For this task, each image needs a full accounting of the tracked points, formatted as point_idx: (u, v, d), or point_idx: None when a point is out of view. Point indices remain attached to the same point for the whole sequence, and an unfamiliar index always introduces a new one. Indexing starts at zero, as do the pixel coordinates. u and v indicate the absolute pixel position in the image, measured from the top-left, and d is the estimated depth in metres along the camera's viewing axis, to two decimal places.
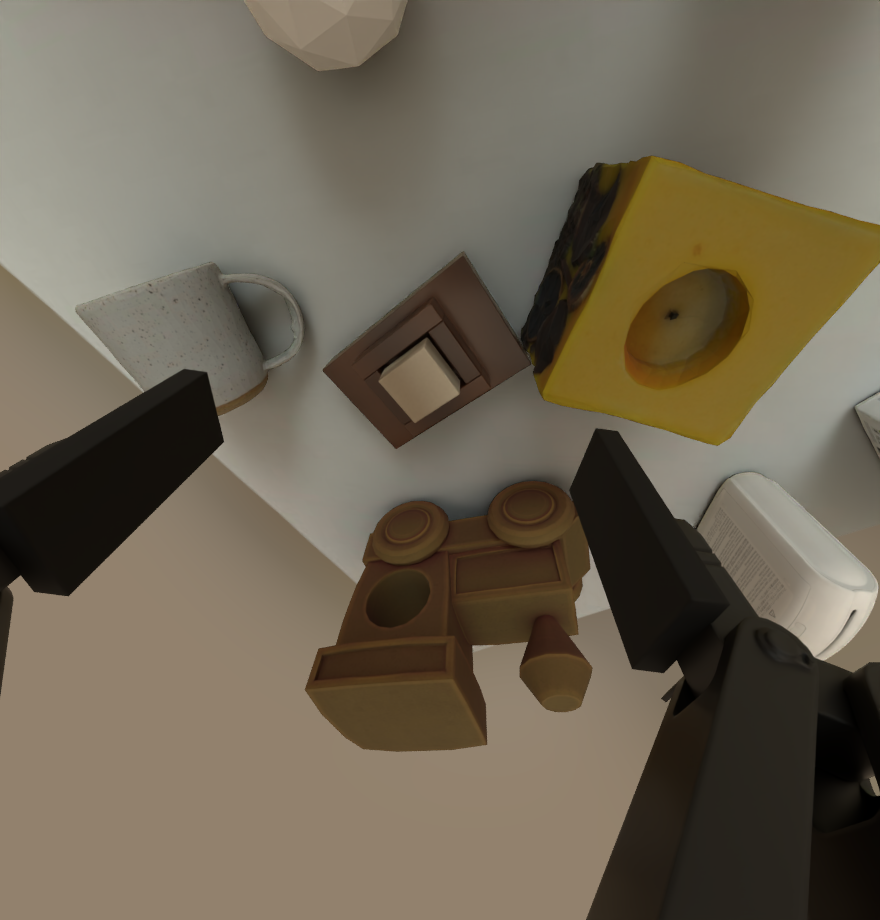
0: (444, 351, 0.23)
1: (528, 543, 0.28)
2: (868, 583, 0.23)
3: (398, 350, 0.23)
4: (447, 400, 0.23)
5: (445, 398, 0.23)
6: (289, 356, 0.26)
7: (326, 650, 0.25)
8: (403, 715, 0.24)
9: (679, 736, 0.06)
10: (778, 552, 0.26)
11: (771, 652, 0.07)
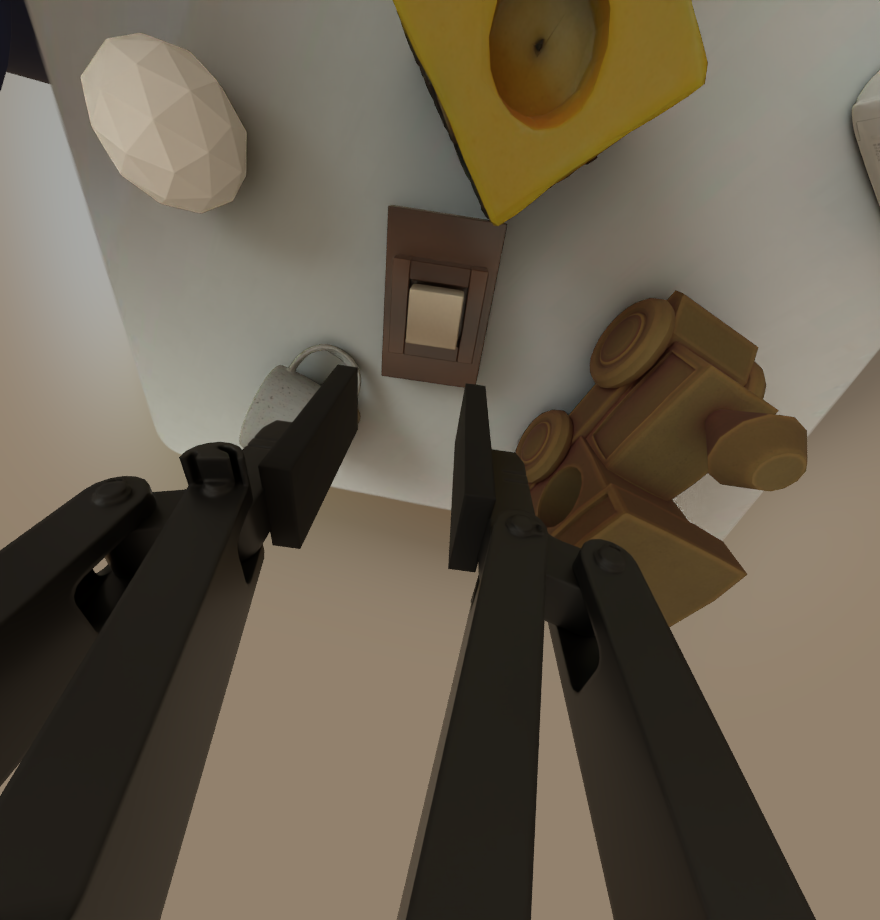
0: (431, 280, 0.26)
1: (639, 366, 0.25)
2: None
3: (404, 311, 0.27)
4: (460, 310, 0.25)
5: (457, 310, 0.25)
6: None
7: None
8: None
9: (467, 628, 0.07)
10: None
11: (516, 533, 0.08)
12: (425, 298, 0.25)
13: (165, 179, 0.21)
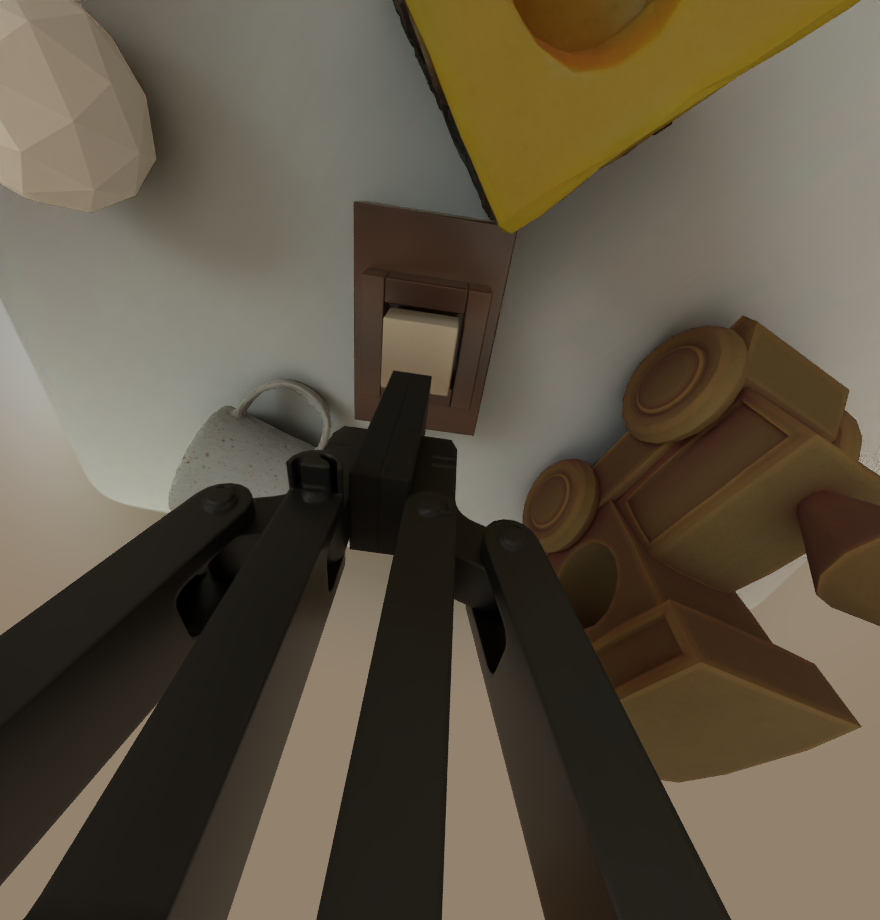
0: (414, 304, 0.19)
1: (699, 422, 0.18)
2: None
3: (378, 344, 0.20)
4: (453, 346, 0.18)
5: (449, 346, 0.18)
6: (325, 429, 0.26)
7: None
8: (680, 731, 0.16)
9: None
10: None
11: (425, 514, 0.08)
12: (405, 330, 0.18)
13: (11, 162, 0.14)
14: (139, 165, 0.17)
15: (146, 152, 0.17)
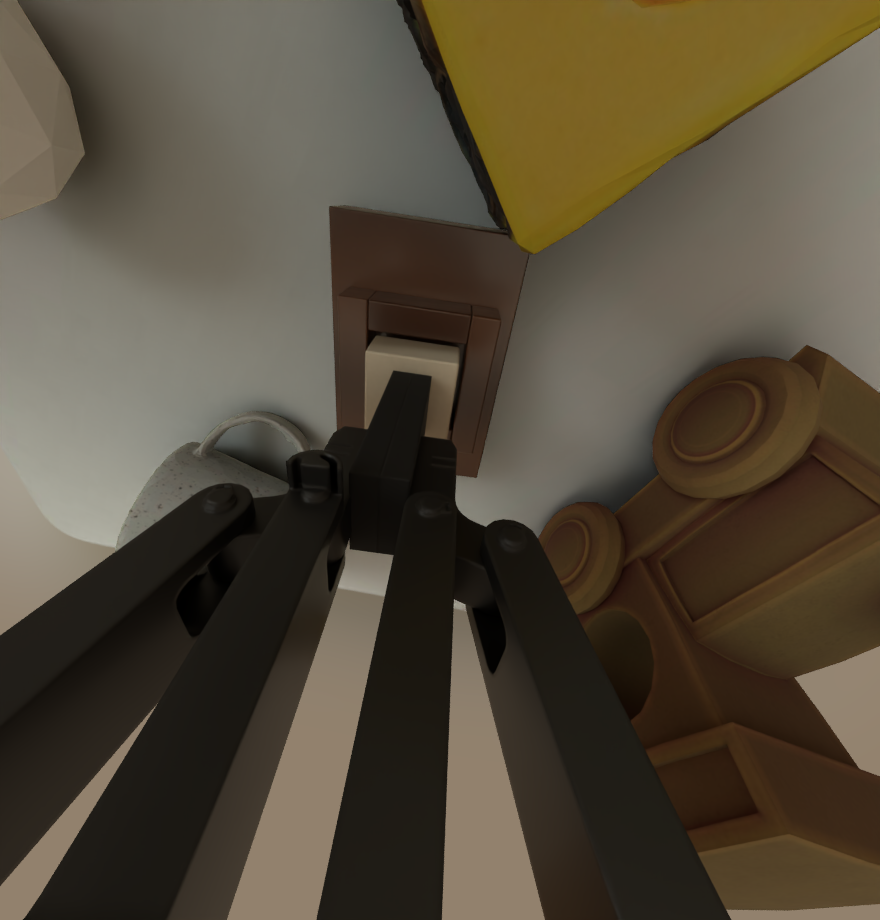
0: (405, 332, 0.15)
1: (758, 479, 0.15)
2: None
3: (362, 378, 0.16)
4: (452, 385, 0.15)
5: (448, 384, 0.15)
6: None
7: None
8: (743, 888, 0.13)
9: None
10: None
11: (425, 514, 0.08)
12: (393, 366, 0.14)
13: None
14: (55, 160, 0.13)
15: (65, 144, 0.13)
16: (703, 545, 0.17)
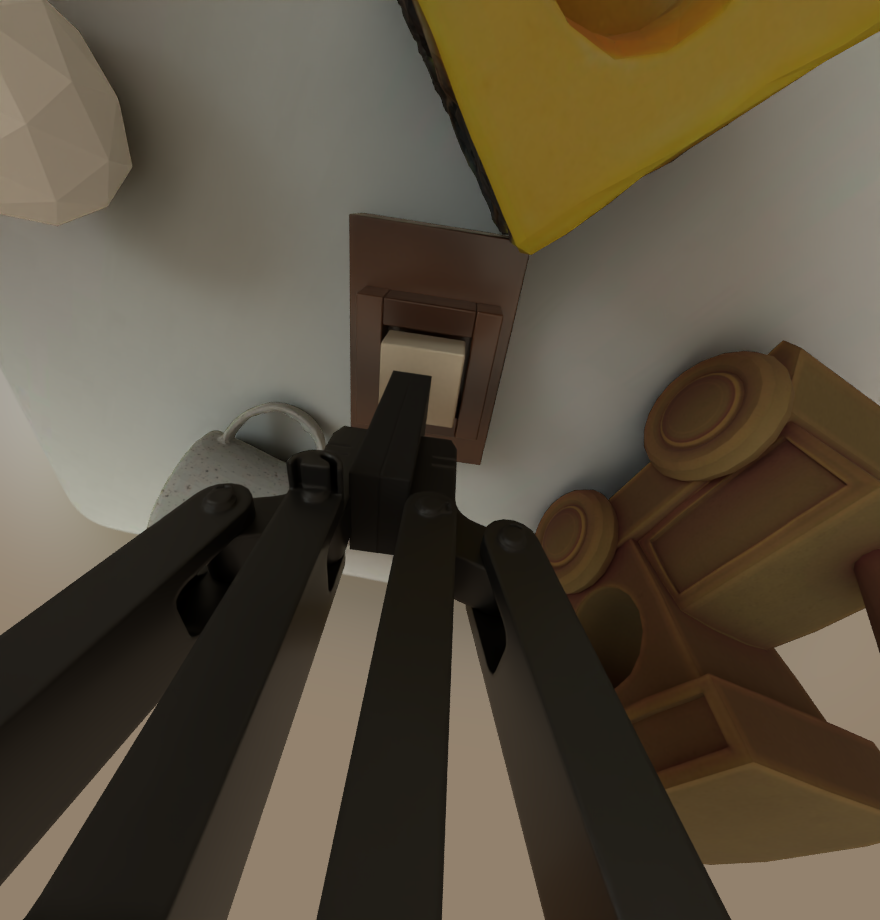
0: (416, 326, 0.17)
1: (736, 461, 0.16)
2: None
3: (376, 369, 0.18)
4: (459, 374, 0.16)
5: (454, 374, 0.16)
6: None
7: None
8: (720, 826, 0.14)
9: None
10: None
11: (425, 514, 0.08)
12: (405, 357, 0.16)
13: None
14: (110, 174, 0.15)
15: (118, 159, 0.15)
16: (689, 524, 0.19)
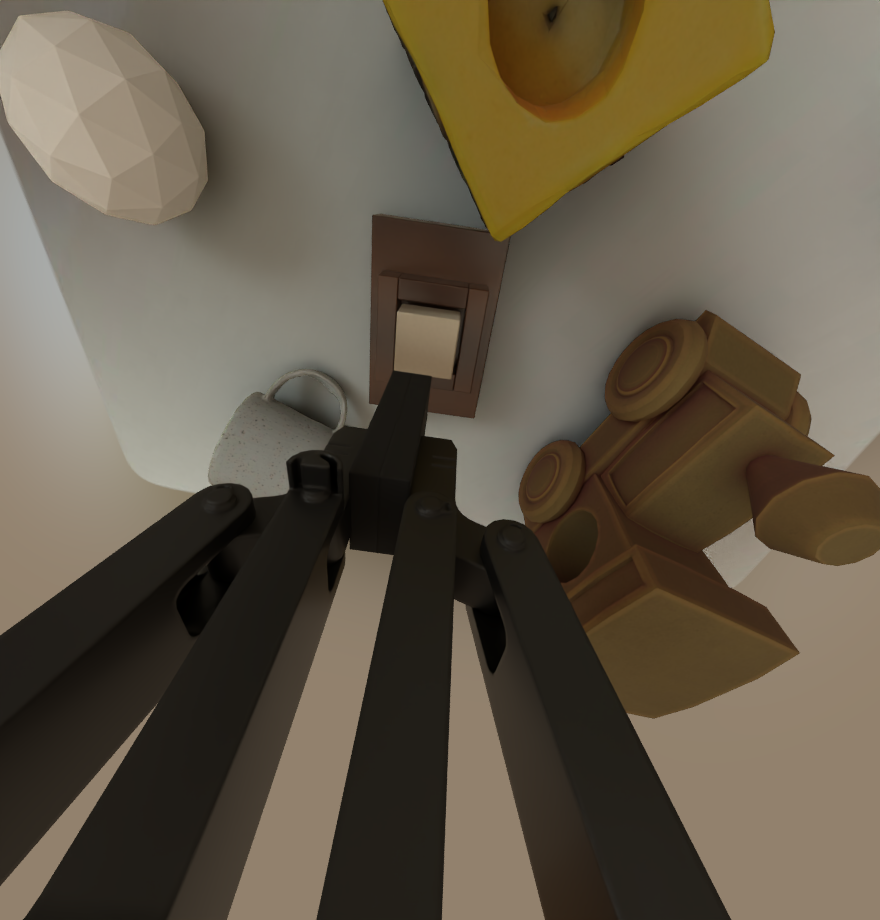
0: (423, 300, 0.22)
1: (666, 400, 0.21)
2: None
3: (392, 335, 0.23)
4: (456, 335, 0.21)
5: (452, 335, 0.21)
6: (343, 413, 0.29)
7: None
8: (647, 658, 0.19)
9: None
10: None
11: (425, 514, 0.08)
12: (415, 322, 0.21)
13: (102, 186, 0.18)
14: (197, 186, 0.20)
15: (202, 175, 0.20)
16: (636, 455, 0.24)
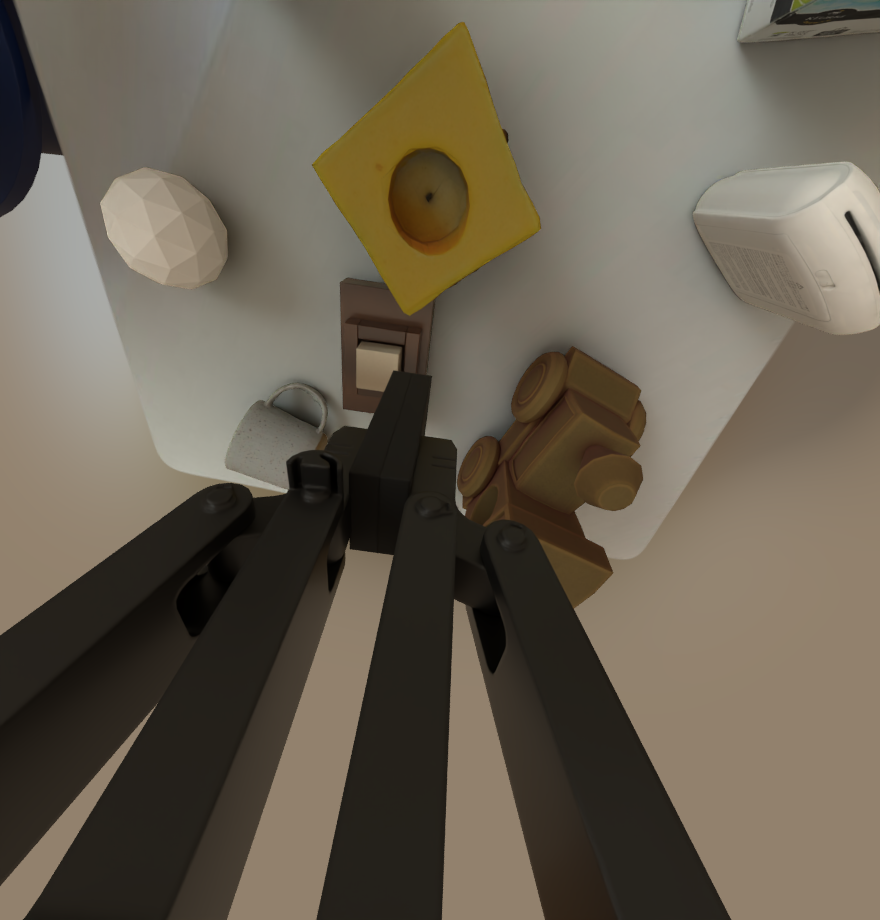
0: (375, 339, 0.32)
1: (539, 408, 0.32)
2: (841, 177, 0.19)
3: (355, 362, 0.33)
4: (397, 364, 0.32)
5: (394, 364, 0.32)
6: (324, 415, 0.39)
7: None
8: None
9: None
10: (753, 232, 0.23)
11: (425, 514, 0.08)
12: (369, 355, 0.31)
13: (163, 273, 0.28)
14: (221, 265, 0.30)
15: (225, 258, 0.30)
16: (527, 446, 0.34)
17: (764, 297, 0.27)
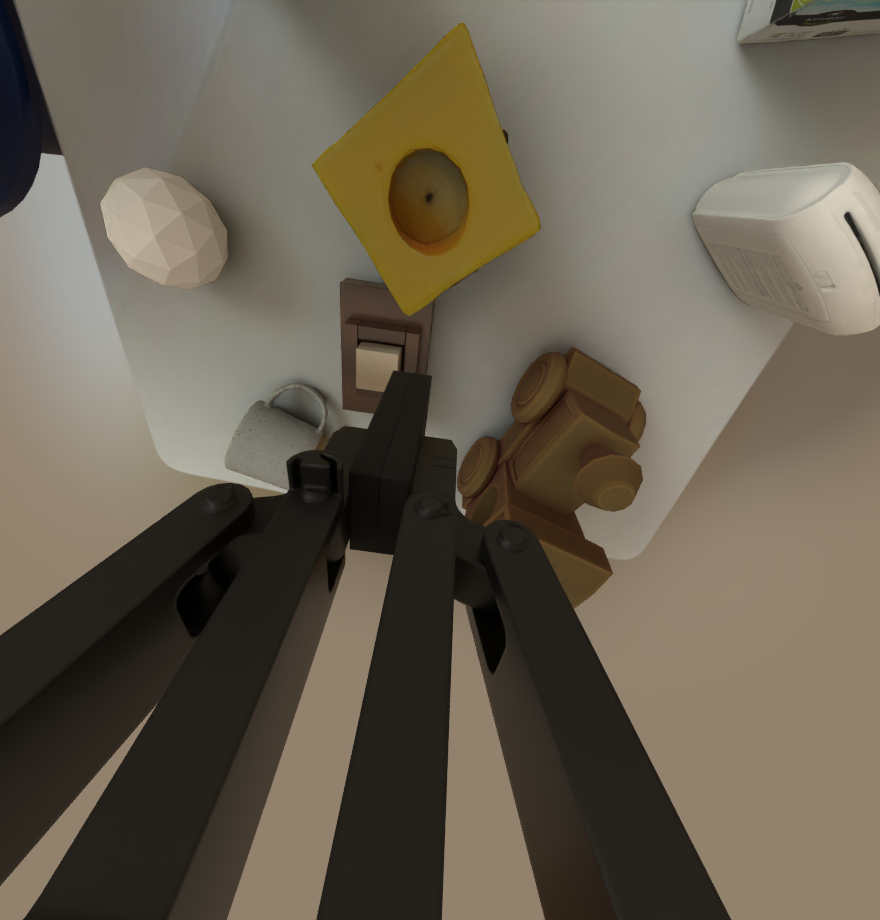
0: (375, 340, 0.32)
1: (539, 409, 0.32)
2: (840, 177, 0.19)
3: (355, 362, 0.33)
4: (396, 364, 0.32)
5: (394, 364, 0.32)
6: (324, 416, 0.39)
7: None
8: None
9: None
10: (752, 233, 0.23)
11: (425, 514, 0.08)
12: (369, 355, 0.31)
13: (163, 273, 0.28)
14: (221, 265, 0.30)
15: (225, 258, 0.30)
16: (527, 447, 0.34)
17: (764, 298, 0.27)
